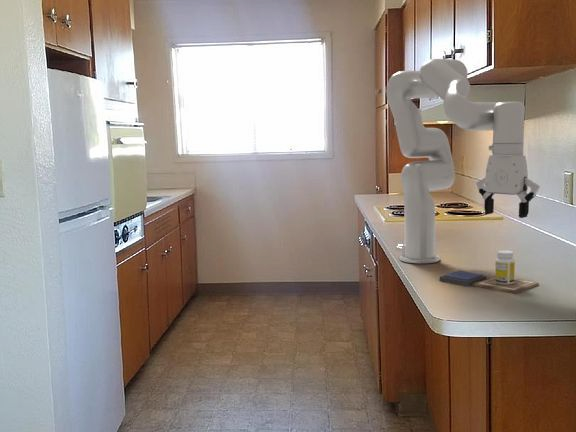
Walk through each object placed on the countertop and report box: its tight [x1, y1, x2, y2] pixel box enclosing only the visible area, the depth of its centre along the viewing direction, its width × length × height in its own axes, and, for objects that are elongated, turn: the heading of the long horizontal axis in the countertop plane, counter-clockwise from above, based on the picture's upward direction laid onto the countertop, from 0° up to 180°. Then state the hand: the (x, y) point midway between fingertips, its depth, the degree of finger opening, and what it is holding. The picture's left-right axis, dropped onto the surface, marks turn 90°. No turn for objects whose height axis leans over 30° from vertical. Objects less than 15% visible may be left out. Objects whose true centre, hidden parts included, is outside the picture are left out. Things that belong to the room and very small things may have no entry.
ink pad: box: [439, 270, 488, 287], centre depth 167 cm, size 9×9×2 cm
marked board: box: [472, 276, 540, 295], centre depth 161 cm, size 12×12×1 cm
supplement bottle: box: [494, 250, 516, 285], centre depth 161 cm, size 5×5×8 cm
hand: (505, 215), depth 160 cm, fingers open, 9 cm apart
